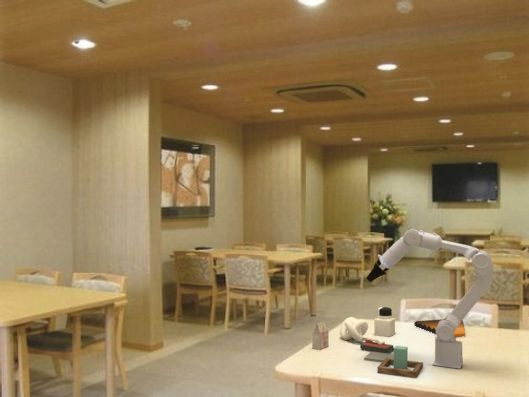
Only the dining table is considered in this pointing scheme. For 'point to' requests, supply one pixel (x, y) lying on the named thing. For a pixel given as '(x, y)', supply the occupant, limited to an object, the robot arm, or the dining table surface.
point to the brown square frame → (413, 373)
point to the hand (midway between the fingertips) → (369, 278)
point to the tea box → (320, 337)
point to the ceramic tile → (378, 356)
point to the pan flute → (432, 325)
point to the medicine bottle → (384, 322)
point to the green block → (401, 357)
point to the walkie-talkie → (375, 346)
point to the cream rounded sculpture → (353, 329)
